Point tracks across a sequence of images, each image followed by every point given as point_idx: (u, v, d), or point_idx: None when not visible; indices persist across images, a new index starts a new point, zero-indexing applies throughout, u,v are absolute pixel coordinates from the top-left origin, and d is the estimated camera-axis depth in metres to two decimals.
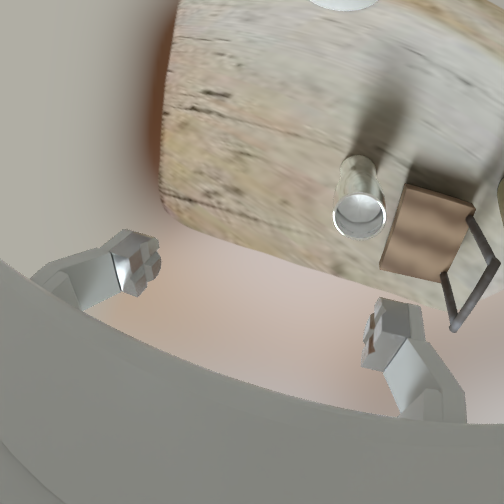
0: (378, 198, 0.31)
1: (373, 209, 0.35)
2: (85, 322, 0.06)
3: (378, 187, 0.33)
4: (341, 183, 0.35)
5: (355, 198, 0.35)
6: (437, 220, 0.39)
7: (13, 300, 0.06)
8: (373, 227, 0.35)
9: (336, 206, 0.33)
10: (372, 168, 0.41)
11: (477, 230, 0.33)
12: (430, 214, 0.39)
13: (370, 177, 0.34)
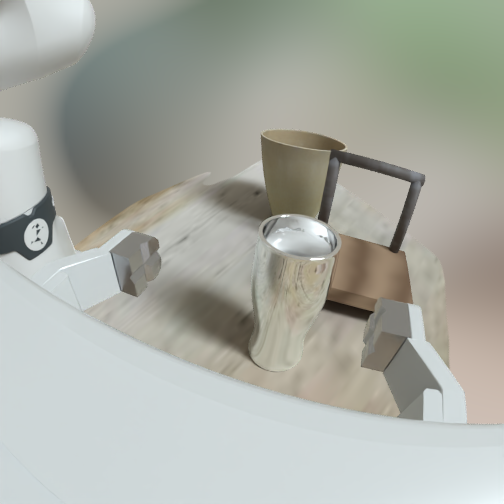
0: None
1: None
2: (85, 322, 0.06)
3: None
4: (259, 287, 0.23)
5: None
6: None
7: (13, 300, 0.06)
8: (325, 245, 0.25)
9: (281, 251, 0.20)
10: None
11: (321, 203, 0.41)
12: None
13: None
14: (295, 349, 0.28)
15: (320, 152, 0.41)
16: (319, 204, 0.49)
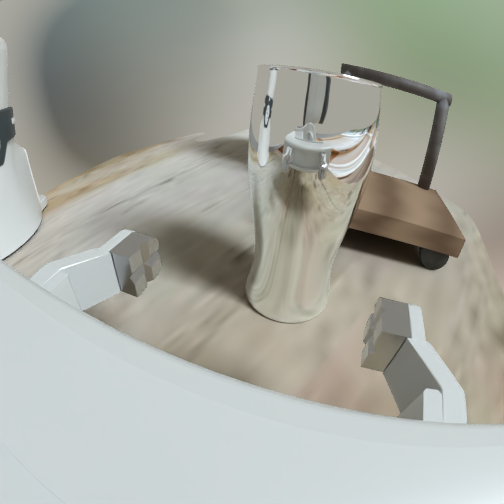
0: None
1: None
2: (85, 322, 0.06)
3: None
4: (261, 145, 0.13)
5: None
6: None
7: (13, 300, 0.06)
8: None
9: None
10: None
11: None
12: None
13: None
14: (320, 280, 0.18)
15: None
16: None
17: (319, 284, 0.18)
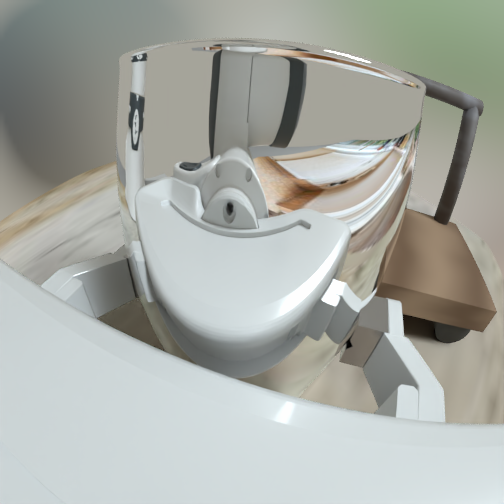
0: None
1: None
2: (85, 322, 0.06)
3: None
4: (128, 251, 0.06)
5: None
6: None
7: (13, 300, 0.06)
8: None
9: (164, 43, 0.03)
10: None
11: None
12: None
13: None
14: None
15: None
16: None
17: None
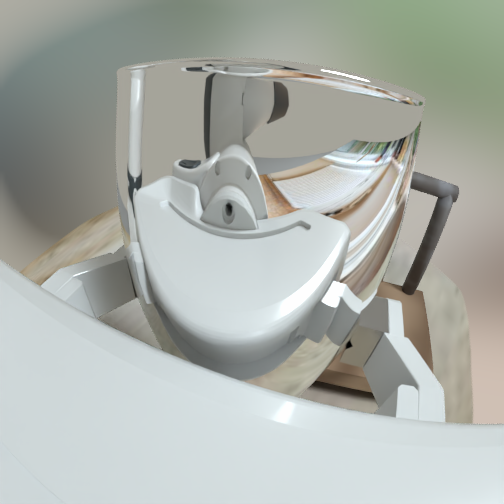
0: None
1: None
2: (85, 322, 0.06)
3: None
4: (129, 262, 0.06)
5: None
6: None
7: (13, 300, 0.06)
8: None
9: None
10: None
11: None
12: None
13: None
14: None
15: None
16: None
17: None
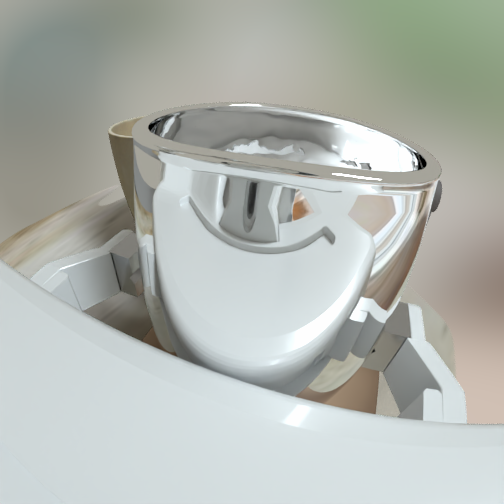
0: None
1: None
2: (85, 322, 0.06)
3: None
4: (151, 314, 0.06)
5: None
6: None
7: (13, 300, 0.06)
8: None
9: (186, 145, 0.04)
10: None
11: None
12: None
13: None
14: None
15: None
16: None
17: None
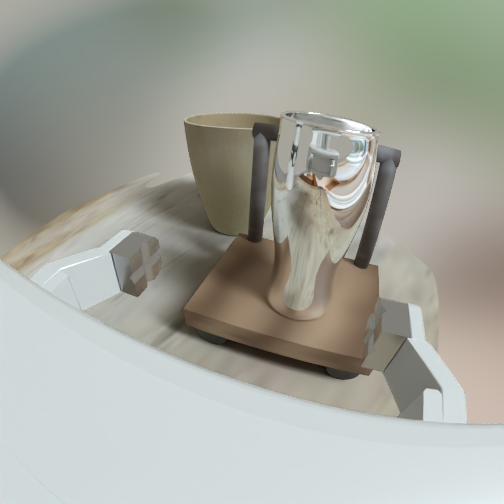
0: None
1: None
2: (85, 322, 0.06)
3: None
4: (284, 182, 0.17)
5: None
6: (255, 272, 0.28)
7: (13, 300, 0.06)
8: None
9: (313, 122, 0.15)
10: None
11: (250, 201, 0.30)
12: (242, 281, 0.27)
13: None
14: (327, 285, 0.22)
15: (249, 131, 0.30)
16: None
17: (327, 288, 0.22)
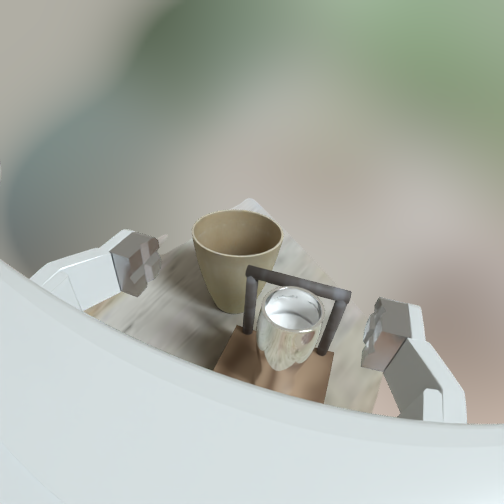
0: None
1: (296, 320, 0.33)
2: (85, 322, 0.06)
3: None
4: (262, 345, 0.30)
5: None
6: (247, 362, 0.40)
7: (13, 300, 0.06)
8: (313, 309, 0.32)
9: (278, 326, 0.27)
10: None
11: (244, 312, 0.42)
12: (238, 369, 0.39)
13: None
14: (290, 383, 0.34)
15: (244, 258, 0.42)
16: None
17: (289, 384, 0.34)
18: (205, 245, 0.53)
